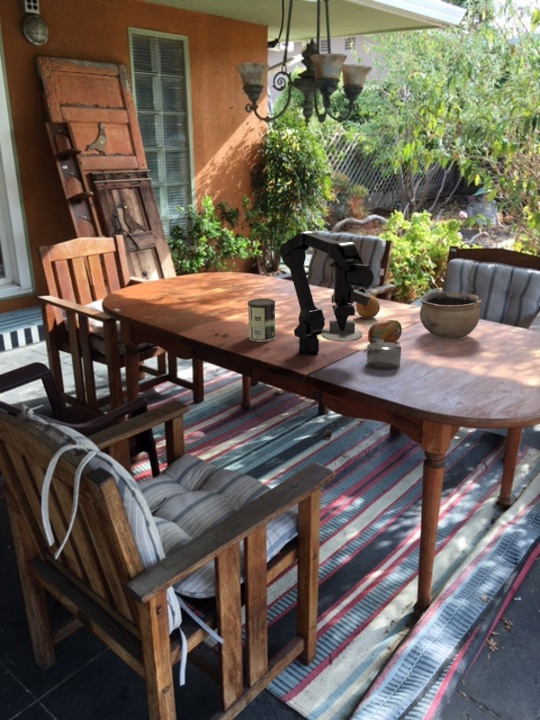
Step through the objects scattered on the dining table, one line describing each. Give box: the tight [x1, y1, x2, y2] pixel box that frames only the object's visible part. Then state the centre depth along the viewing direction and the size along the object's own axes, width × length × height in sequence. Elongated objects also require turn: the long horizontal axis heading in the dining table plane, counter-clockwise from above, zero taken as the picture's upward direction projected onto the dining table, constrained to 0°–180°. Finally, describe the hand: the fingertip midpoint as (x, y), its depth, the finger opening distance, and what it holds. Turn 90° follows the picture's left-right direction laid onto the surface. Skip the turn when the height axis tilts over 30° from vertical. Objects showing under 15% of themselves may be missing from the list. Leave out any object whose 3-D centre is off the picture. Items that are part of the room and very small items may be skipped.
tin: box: [367, 319, 403, 344], centre depth 219 cm, size 15×3×8 cm, turn 125°
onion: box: [355, 293, 381, 320], centre depth 252 cm, size 10×10×10 cm
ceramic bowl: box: [419, 291, 482, 340], centre depth 226 cm, size 22×22×15 cm
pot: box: [366, 340, 402, 371], centre depth 201 cm, size 11×16×6 cm
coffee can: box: [247, 298, 276, 343], centre depth 226 cm, size 10×10×14 cm
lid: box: [321, 320, 363, 343], centre depth 196 cm, size 13×13×5 cm
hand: (341, 329), depth 196 cm, fingers closed on lid, 2 cm apart
